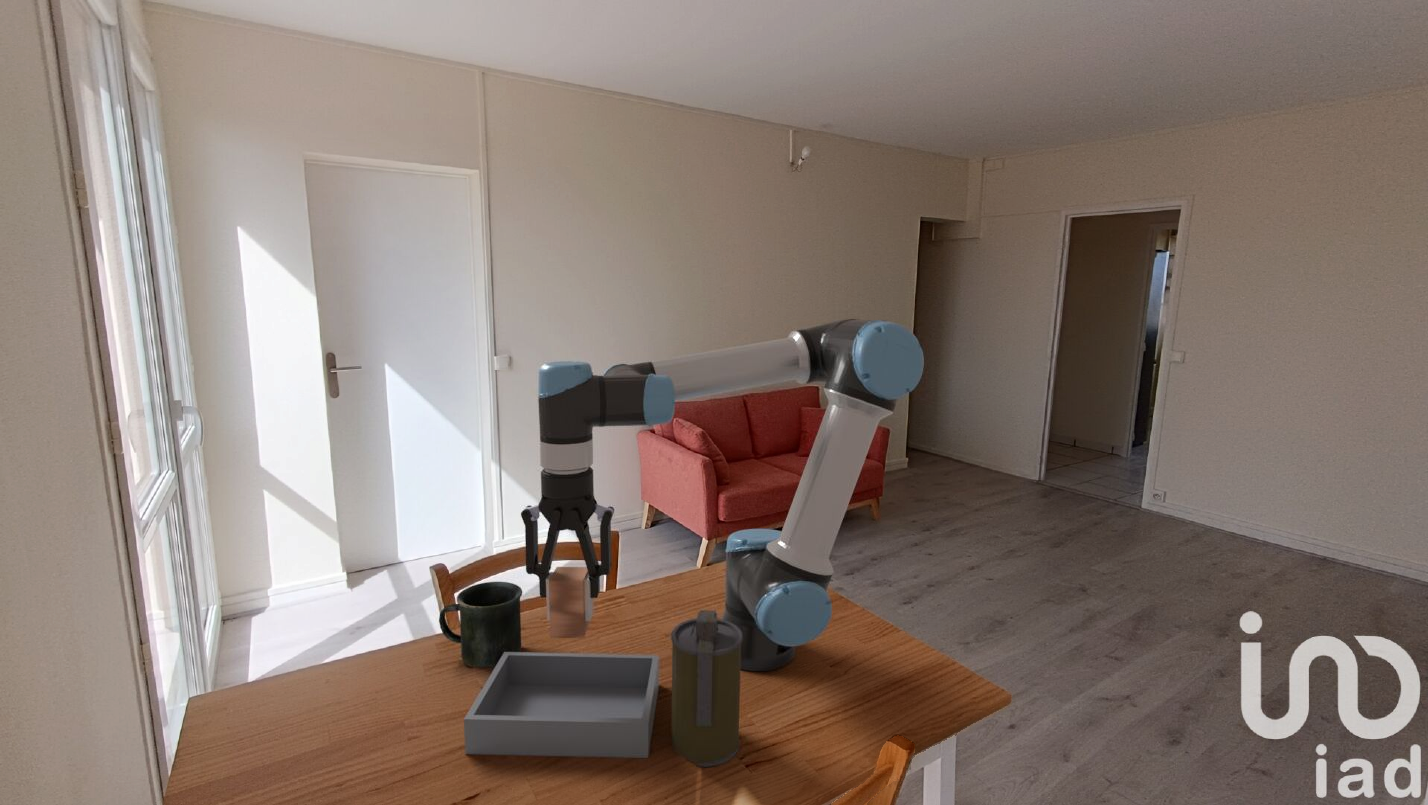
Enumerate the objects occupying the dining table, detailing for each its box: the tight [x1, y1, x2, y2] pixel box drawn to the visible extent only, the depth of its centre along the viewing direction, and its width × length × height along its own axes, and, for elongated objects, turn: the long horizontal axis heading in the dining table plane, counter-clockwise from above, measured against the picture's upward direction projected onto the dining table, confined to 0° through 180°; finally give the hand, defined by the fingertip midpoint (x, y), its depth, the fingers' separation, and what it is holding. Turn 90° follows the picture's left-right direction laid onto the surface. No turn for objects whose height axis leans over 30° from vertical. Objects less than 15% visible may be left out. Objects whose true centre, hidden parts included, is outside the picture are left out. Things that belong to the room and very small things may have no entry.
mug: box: [438, 581, 523, 668], centre depth 120 cm, size 11×15×12 cm
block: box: [549, 566, 591, 639], centre depth 100 cm, size 5×5×9 cm
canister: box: [670, 609, 743, 768], centre depth 96 cm, size 11×10×20 cm
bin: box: [463, 651, 660, 759], centre depth 102 cm, size 26×18×6 cm
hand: (570, 616), depth 100 cm, fingers closed on block, 5 cm apart
